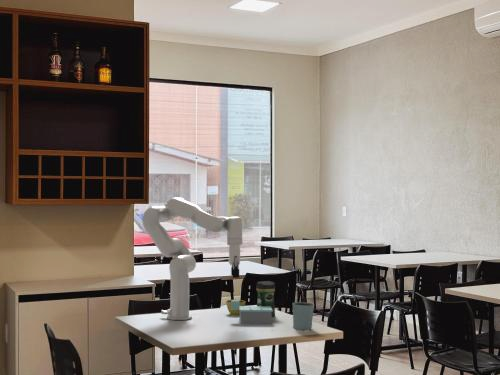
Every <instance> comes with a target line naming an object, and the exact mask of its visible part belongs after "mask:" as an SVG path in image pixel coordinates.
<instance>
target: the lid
mask: <svg viewBox="0 0 500 375" xmlns="http://www.w3.org/2000/svg"><path fill="white" fill-rule="evenodd" d="M230 300H231V310H239V311H240V312H273V310H272V308H271V306H257V305H256V306H255V305H253V306H252V305H245V306H239V302H240V301H239V300H240V299H230Z"/></svg>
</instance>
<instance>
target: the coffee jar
mask: <svg viewBox="0 0 500 375" xmlns="http://www.w3.org/2000/svg"><path fill="white" fill-rule="evenodd" d="M275 284H276V283H275V281H271V280H264V281H257V283H256V287H255V288H256V289H255V290H256V292H257V298H256V300H257V301H256V306H271V308H272V310H273V312H272V318H274V317H275V316H276V308H275V291H276V285H275Z"/></svg>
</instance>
